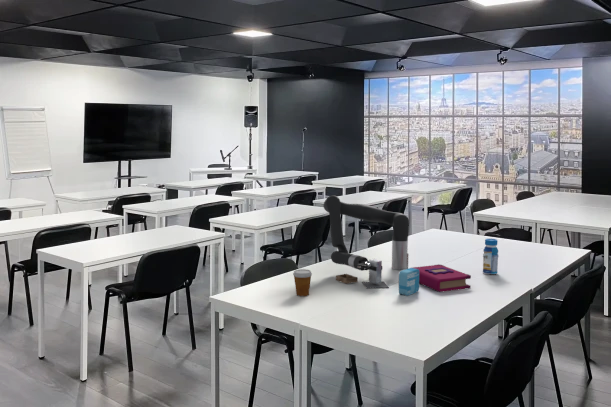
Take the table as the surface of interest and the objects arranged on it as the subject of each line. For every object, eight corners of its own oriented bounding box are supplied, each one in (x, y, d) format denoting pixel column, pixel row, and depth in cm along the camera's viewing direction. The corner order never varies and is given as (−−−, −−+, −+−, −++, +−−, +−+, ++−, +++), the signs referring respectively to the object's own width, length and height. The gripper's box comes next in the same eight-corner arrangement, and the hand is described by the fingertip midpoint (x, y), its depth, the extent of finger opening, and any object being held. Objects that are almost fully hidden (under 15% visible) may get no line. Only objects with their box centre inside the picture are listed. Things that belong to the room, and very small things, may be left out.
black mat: (384, 282, 304) (384, 281, 304) (388, 287, 292) (388, 287, 292) (362, 282, 303) (362, 281, 303) (366, 288, 291) (366, 287, 291)
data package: (406, 296, 277) (406, 272, 275) (398, 294, 280) (398, 271, 278) (419, 291, 285) (419, 268, 284) (411, 289, 288) (412, 267, 287)
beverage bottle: (498, 275, 316) (500, 241, 314) (483, 274, 318) (484, 240, 316) (496, 272, 325) (498, 238, 322) (481, 271, 326) (482, 237, 324)
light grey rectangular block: (368, 281, 299) (369, 259, 297) (373, 280, 301) (374, 258, 299) (376, 284, 294) (376, 261, 292) (381, 283, 296) (381, 260, 294)
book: (437, 293, 284) (438, 278, 283) (408, 280, 309) (408, 266, 308) (471, 288, 291) (472, 274, 290) (439, 276, 317) (440, 263, 316)
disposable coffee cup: (298, 298, 274) (298, 274, 273) (290, 293, 282) (289, 270, 281) (315, 295, 278) (315, 272, 277) (306, 291, 287) (306, 268, 285)
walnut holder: (335, 280, 308) (335, 275, 308) (346, 278, 312) (346, 273, 312) (347, 283, 300) (347, 279, 300) (357, 281, 304) (357, 277, 304)
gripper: (348, 257, 303) (368, 263, 289) (368, 254, 311) (389, 260, 297) (348, 270, 304) (368, 277, 290) (367, 267, 312) (388, 273, 298)
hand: (378, 268), depth 294 cm, fingers closed on light grey rectangular block, 3 cm apart
